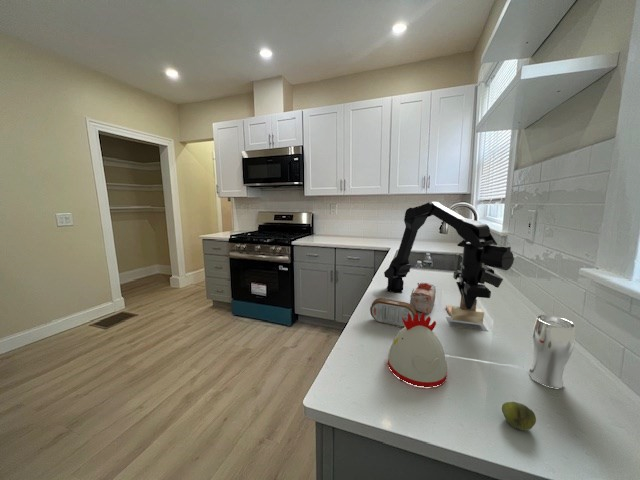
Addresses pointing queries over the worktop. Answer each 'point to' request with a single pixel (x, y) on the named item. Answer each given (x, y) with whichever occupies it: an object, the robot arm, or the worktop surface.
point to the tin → (391, 311)
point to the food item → (423, 297)
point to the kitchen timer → (418, 353)
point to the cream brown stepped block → (467, 313)
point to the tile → (449, 309)
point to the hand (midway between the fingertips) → (467, 307)
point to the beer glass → (551, 349)
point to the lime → (519, 415)
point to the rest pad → (466, 324)
